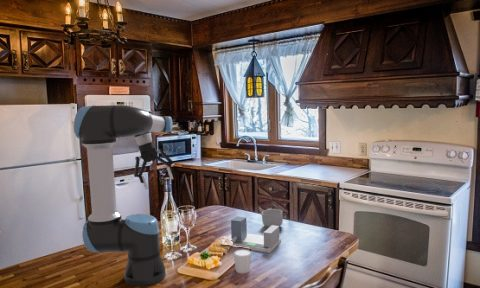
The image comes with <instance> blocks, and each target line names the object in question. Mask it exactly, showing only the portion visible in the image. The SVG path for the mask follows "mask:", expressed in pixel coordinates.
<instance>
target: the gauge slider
mask: <svg viewBox="0 0 480 288" xmlns="http://www.w3.org/2000/svg"><path fill="white" fill-rule="evenodd" d="M230 230H231V231H230V232H231V234H230V235H231V237H232V240H231V241H232V242H234V241H235V240H243V239H244V238H245V237H246V236H247V233H248V228H247V217H246V216H245V217H244V216H237V215H236V216H235V217H233V218H231V220H230Z"/></svg>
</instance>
